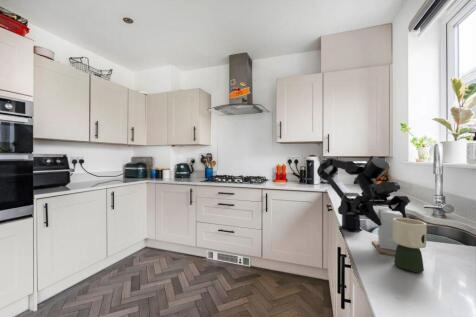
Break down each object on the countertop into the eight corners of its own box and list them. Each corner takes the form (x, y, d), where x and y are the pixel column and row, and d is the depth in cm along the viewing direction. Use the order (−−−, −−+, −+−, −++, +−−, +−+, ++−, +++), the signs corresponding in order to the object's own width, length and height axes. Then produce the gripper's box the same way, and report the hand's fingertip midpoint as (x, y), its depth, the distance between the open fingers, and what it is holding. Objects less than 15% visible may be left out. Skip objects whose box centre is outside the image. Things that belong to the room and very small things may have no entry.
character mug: (430, 282, 50) (430, 228, 50) (393, 273, 54) (393, 223, 55) (422, 264, 59) (422, 218, 60) (391, 257, 63) (391, 214, 64)
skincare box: (399, 246, 70) (400, 211, 69) (402, 252, 66) (403, 214, 66) (377, 243, 72) (378, 208, 72) (379, 248, 69) (380, 212, 68)
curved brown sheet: (372, 242, 75) (372, 240, 75) (398, 245, 72) (398, 244, 72) (380, 253, 66) (380, 252, 66) (411, 258, 63) (411, 256, 63)
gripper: (356, 172, 72) (380, 212, 61) (405, 173, 74) (438, 211, 63) (342, 191, 80) (362, 230, 69) (387, 191, 82) (413, 229, 71)
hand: (393, 225), depth 68 cm, fingers open, 9 cm apart
